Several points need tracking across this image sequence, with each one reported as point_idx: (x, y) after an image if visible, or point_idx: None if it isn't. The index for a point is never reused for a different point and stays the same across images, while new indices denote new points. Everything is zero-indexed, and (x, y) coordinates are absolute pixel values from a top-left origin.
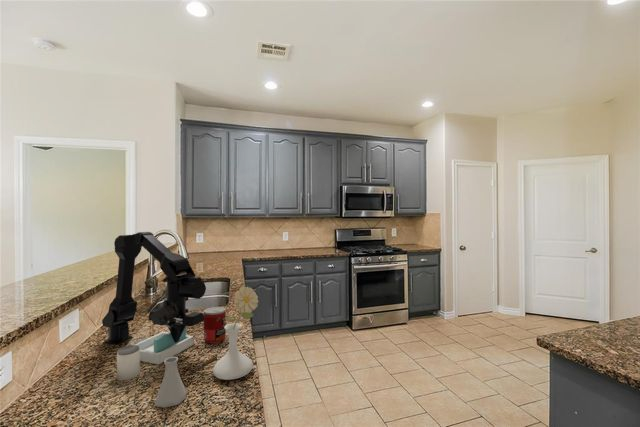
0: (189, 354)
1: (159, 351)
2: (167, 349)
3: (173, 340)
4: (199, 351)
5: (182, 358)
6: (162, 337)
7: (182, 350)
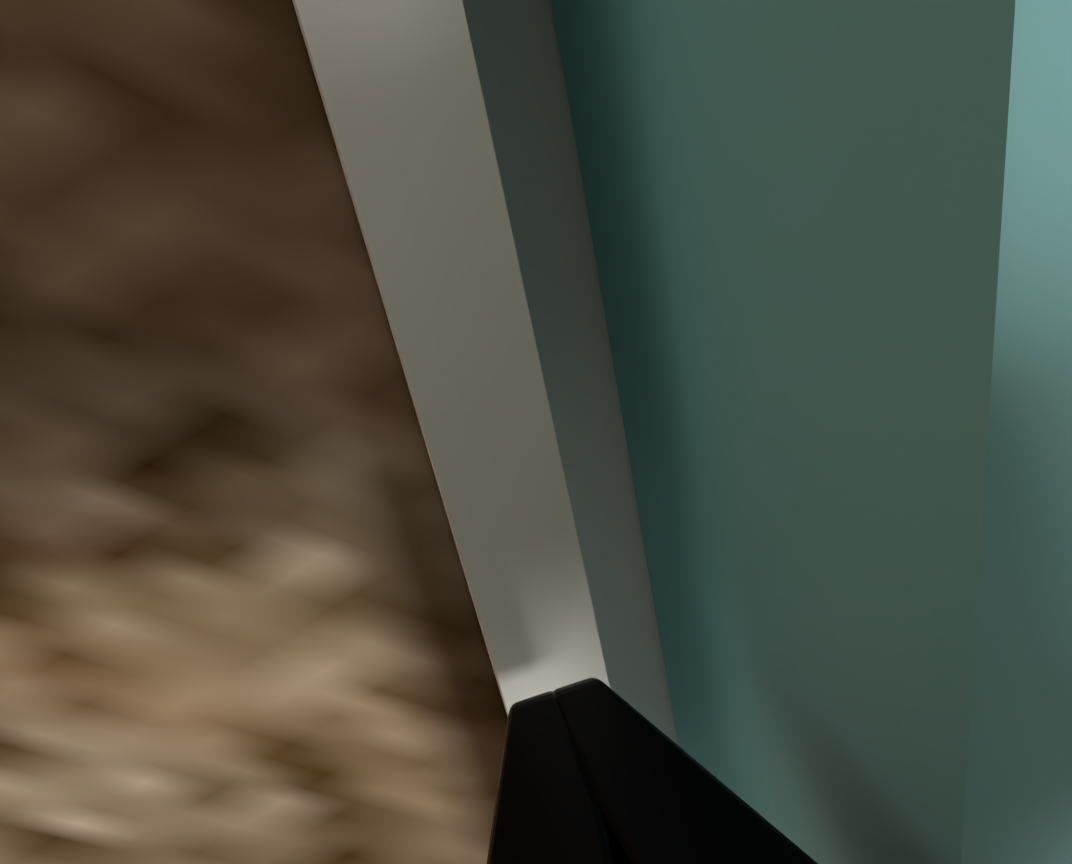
0: (115, 665)
1: (625, 12)
2: (420, 284)
3: (759, 708)
4: (81, 858)
5: (3, 457)
6: (1000, 431)
7: (485, 643)
